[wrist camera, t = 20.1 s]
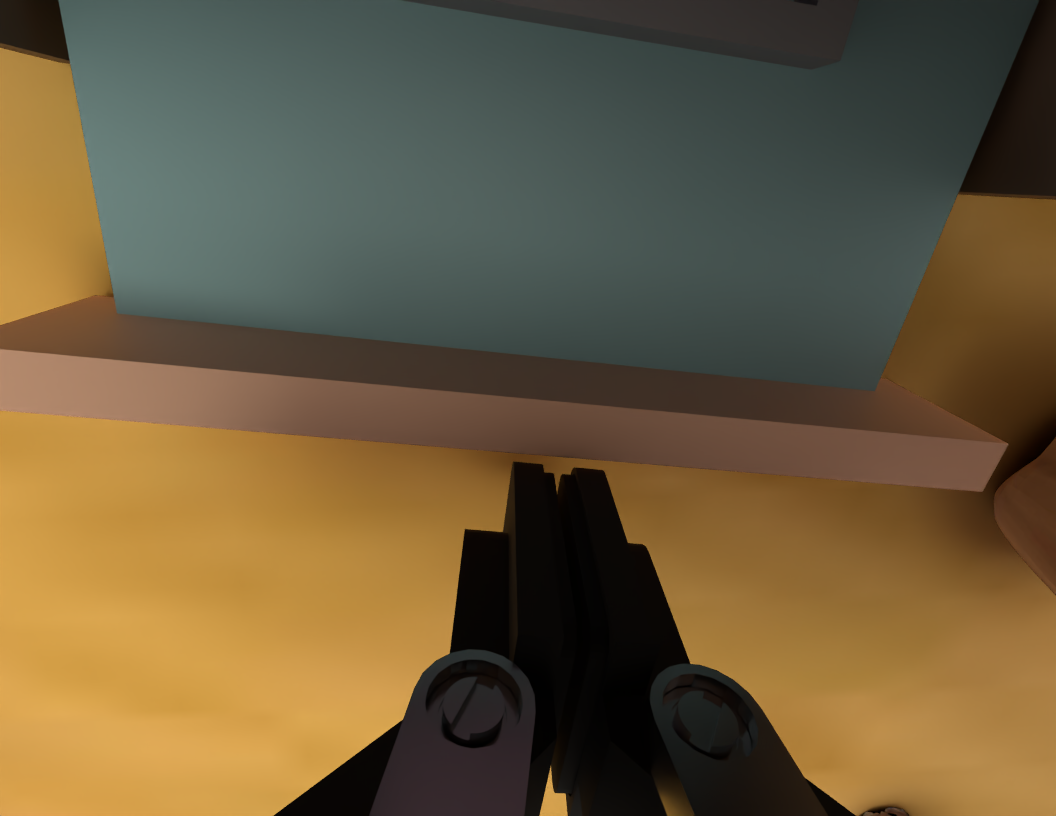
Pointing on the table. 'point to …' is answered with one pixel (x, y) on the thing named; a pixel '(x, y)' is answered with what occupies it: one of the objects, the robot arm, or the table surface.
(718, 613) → the table surface
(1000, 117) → the cabinet
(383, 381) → the tray
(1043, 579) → the cupcake
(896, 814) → the flask
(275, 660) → the table surface
